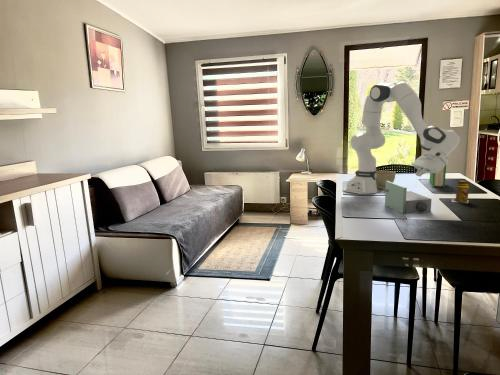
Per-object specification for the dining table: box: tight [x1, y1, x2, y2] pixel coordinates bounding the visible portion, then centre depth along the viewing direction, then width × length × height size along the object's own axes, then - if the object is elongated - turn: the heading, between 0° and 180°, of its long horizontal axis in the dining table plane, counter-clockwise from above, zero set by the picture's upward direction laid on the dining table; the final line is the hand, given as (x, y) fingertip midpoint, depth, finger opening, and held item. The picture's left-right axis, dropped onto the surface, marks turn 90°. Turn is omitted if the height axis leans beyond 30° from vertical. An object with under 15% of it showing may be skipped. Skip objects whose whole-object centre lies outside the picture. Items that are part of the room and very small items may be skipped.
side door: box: [384, 181, 408, 215], centre depth 201 cm, size 20×2×14 cm, turn 8°
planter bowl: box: [376, 170, 397, 190], centre depth 255 cm, size 16×16×11 cm
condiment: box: [451, 179, 470, 204], centre depth 213 cm, size 7×8×12 cm
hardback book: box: [429, 156, 448, 188], centre depth 257 cm, size 18×7×24 cm, turn 161°
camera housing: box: [404, 190, 433, 215], centre depth 202 cm, size 22×14×7 cm, turn 8°
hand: (417, 175), depth 201 cm, fingers closed
